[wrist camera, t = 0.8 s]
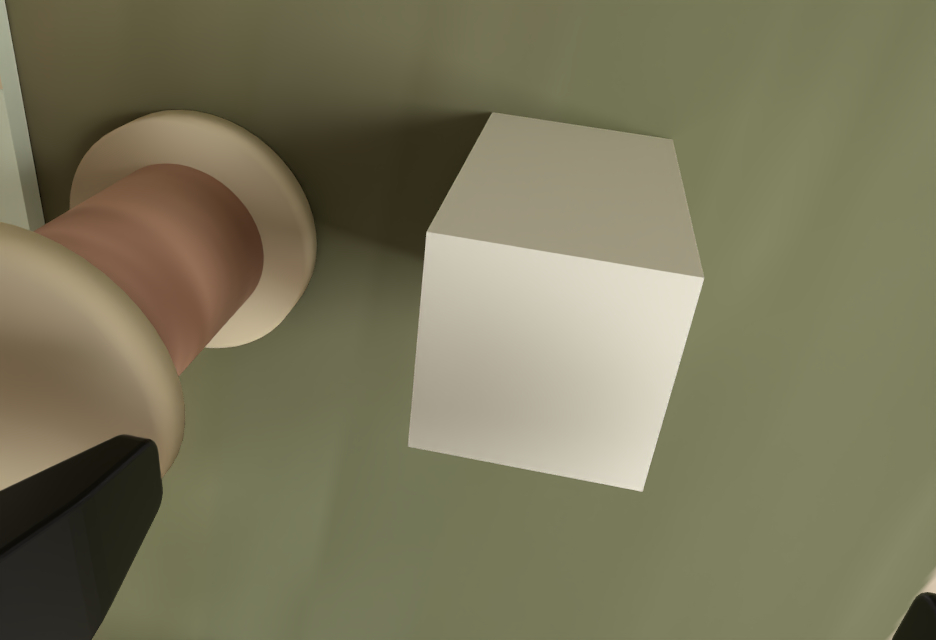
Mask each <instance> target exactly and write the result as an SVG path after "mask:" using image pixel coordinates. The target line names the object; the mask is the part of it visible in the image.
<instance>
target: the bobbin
mask: <svg viewBox="0 0 936 640" xmlns="http://www.w3.org/2000/svg"><path fill="white" fill-rule="evenodd" d="M316 254H317V236H316V228H315V223H314V218H313V215H312V212H311V209H310V205H309V202H308V200H307V198H306V196H305V194H304V192H303V190H302V188H301V186H300V184H299V183H298V181H297V179H296V178H295V176H294V175H293V173H292V172H291V170H290V169H289V168H288V167H287V165H286V164H285V163H284V162H283V160H282V159H281V158H280V157H279V156H278V155H277V154H276V153H275V152H274V151H273V150H272V149H271V148H270V147H269V146H268V145H266V144H265V143H264V142H263V141H261V140H260V139H259V138H258V137H256V136H255V135H253V134H252V133H250V132H249V131H247V130H246V129H244V128H243V127H241V126H239V125H237V124H235V123H233V122H231V121H229V120H226V119H223V118H221V117H218V116H215V115H212V114H208V113H204V112H199V111H192V110H181V109H180V110H164V111H160V112H155V113H151V114H148V115H145V116H143V117H140V118H138V119H135V120H133V121H131V122H129V123H127V124H125V125H123V126H121V127H119V128H117V129H115V130H113V131H112V132H110V133H108V134H106V135H105V136H103V137H102V138H101V139H100V140H98V141H97V142H96V143H95V144H94V145H93V146H92V147H91V148H90V149H89V150H88V152H87V153H86V154H85V155H84V157H83V159H82V160H81V162H80V164H79V166H78V168H77V170H76V173H75V176H74V179H73V182H72V188H71V193H70V210H69V211H67V212H65V213H63V214H62V215H60V216H58V217H57V218H55V219H53V220H52V221H50V222H48V223H47V224H45V225H43V226H42V227H40V228H38V229H36V230H35V231H33V232H32V231H30V230H27V229H24V228H21V227H18V226H16V225H12V224H7V223H3V222H0V491H1V490H3V489H5V488H7V487H9V486H11V485H13V484H15V483H18V482H20V481H22V480H24V479H26V478H28V477H30V476H32V475H34V474H37V473H39V472H41V471H43V470H45V469H47V468H49V467H51V466H54V465H56V464H58V463H60V462H62V461H64V460H66V459H68V458H70V457H73V456H75V455H77V454H79V453H81V452H83V451H85V450H87V449H89V448H92V447H94V446H96V445H98V444H100V443H102V442H104V441H106V440H109V439H111V438H113V437H115V436H118V435H121V434H128V435H133V436H138V437H143V438H148V439H151V440H153V441H154V442H155V443H156V445H157V447H158V453H159V461H160V470H161V478H163V476H164V475H165V474H166V472H167V471H168V470H169V469H170V467H171V465H172V464H173V462H174V460H175V458H176V457H177V455H178V452H179V449H180V446H181V444H182V441H183V435H184V428H185V404H184V398H183V392H182V387H181V383H180V380H179V375H180V374H181V373H182V372H183V371H184V370H185V369H186V368H187V366H188V365H189V364H190V363H191V362H192V361H193V360H194V359H195V357H196V356H197V355H198V354H199V353H200V352H201V351H202V350H203V348H204V347H205V348H226V347H235V346H239V345H243V344H247V343H249V342H252V341H254V340H257V339H259V338H261V337H263V336H264V335H266V334H267V333H269V332H271V331H272V330H273V329H274V328H275V327H276V326H278V325H279V324H280V323H281V322H282V320H283V319H284V318H285V317H286V316H287V315H288V313H289V312H290V311H291V309H292V308H293V307H294V305H295V304H296V303H297V302H298V300H299V299H300V298H301V296H302V295H303V293H304V291H305V290H306V288H307V286H308V285H309V282H310V280H311V277H312V275H313V271H314V267H315V263H316Z"/></svg>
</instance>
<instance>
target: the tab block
mask: <svg viewBox="0 0 936 640" xmlns="http://www.w3.org/2000/svg"><path fill="white" fill-rule="evenodd" d="M703 280H704V275H703V270H702V266H701V262H700V257H699V253H698V248H697V244H696V240H695V235H694V231H693V227H692V222H691V218H690V213H689V209H688V205H687V200H686V196H685V191H684V187H683V183H682V178H681V174H680V169H679V165H678V161H677V156H676V152H675V147H674V143H673V139H666V138H660V137H653V136H647V135H640V134H633V133H627V132H620V131H613V130H607V129H600V128H593V127H587V126H580V125H574V124H567V123H560V122H554V121H547V120H540V119H534V118H527V117H521V116H514V115H507V114H501V113H494V112H492V114H491V116H490V117H489V119H488V121H487V123H486V125H485V127H484V128H483V130H482V132H481V134H480V136H479V137H478V139H477V141H476V143H475V145H474V147H473V148H472V150H471V152H470V154H469V156H468V157H467V159H466V161H465V163H464V165H463V167H462V168H461V170H460V172H459V174H458V176H457V177H456V179H455V181H454V183H453V185H452V187H451V188H450V190H449V192H448V194H447V196H446V197H445V199H444V201H443V203H442V205H441V207H440V208H439V210H438V212H437V214H436V216H435V217H434V219H433V221H432V223H431V225H430V227H429V228H428V230H427V233H426V245H425V256H424V268H423V279H422V291H421V303H420V314H419V326H418V337H417V349H416V360H415V372H414V384H413V395H412V407H411V418H410V430H409V441H408V447H413V448H419V449H424V450H429V451H434V452H439V453H445V454H450V455H455V456H460V457H465V458H471V459H476V460H481V461H486V462H491V463H497V464H502V465H507V466H512V467H517V468H523V469H528V470H533V471H538V472H543V473H549V474H554V475H559V476H564V477H569V478H575V479H580V480H585V481H590V482H595V483H600V484H606V485H611V486H616V487H621V488H626V489H632V490H637V491H643V488H644V484H645V481H646V477H647V474H648V470H649V467H650V464H651V460H652V457H653V453H654V450H655V446H656V443H657V439H658V436H659V432H660V429H661V426H662V422H663V419H664V415H665V412H666V408H667V405H668V401H669V398H670V394H671V391H672V388H673V384H674V381H675V377H676V374H677V370H678V367H679V363H680V360H681V356H682V353H683V350H684V346H685V343H686V339H687V336H688V332H689V329H690V325H691V322H692V318H693V315H694V312H695V308H696V305H697V301H698V298H699V294H700V291H701V287H702V284H703Z"/></svg>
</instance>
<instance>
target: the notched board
mask: <svg viewBox="0 0 936 640" xmlns="http://www.w3.org/2000/svg"><path fill="white" fill-rule="evenodd" d="M0 222H3V223H7V224H12V225H16V226H18V227H21V228H24V229H27V230H30V231H32V232H33V231H35V230H36V229H38V228H40V227H42V226H43V225H45V222H44V217H43V211H42V205H41V200H40V194H39V189H38V183H37V178H36V172H35V166H34V161H33V155H32V150H31V144H30V139H29V133H28V128H27V122H26V116H25V111H24V105H23V100H22V94H21V89H20V83H19V77H18V72H17V66H16V61H15V55H14V50H13V44H12V39H11V33H10V27H9V22H8V16H7V11H6V5H5V0H0Z"/></svg>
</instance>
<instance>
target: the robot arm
mask: <svg viewBox="0 0 936 640" xmlns="http://www.w3.org/2000/svg"><path fill="white" fill-rule="evenodd" d="M162 494H163V487H162V478H161V470H160V461H159V453H158V447H157V445H156V443H155V442H154V441H153V440H151V439H148V438H143V437H138V436H133V435H128V434H121V435H118V436H115V437H113V438H111V439H109V440H106V441H104V442H102V443H100V444H98V445H96V446H94V447H92V448H89V449H87V450H85V451H83V452H81V453H79V454H77V455H75V456H73V457H70V458H68V459H66V460H64V461H62V462H60V463H58V464H56V465H54V466H51V467H49V468H47V469H45V470H43V471H41V472H39V473H37V474H34V475H32V476H30V477H28V478H26V479H24V480H22V481H20V482H18V483H15V484H13V485H11V486H9V487H7V488H5V489H3V490H1V491H0V640H92V638H93V636H94V635H95V633H96V631H97V630H98V628H99V626H100V625H101V623H102V621H103V620H104V618H105V616H106V614H107V612H108V610H109V608H110V606H111V605H112V603H113V601H114V599H115V597H116V595H117V593H118V591H119V589H120V587H121V585H122V583H123V581H124V579H125V577H126V574H127V572H128V570H129V568H130V566H131V564H132V562H133V560H134V558H135V556H136V554H137V552H138V550H139V548H140V546H141V544H142V542H143V540H144V538H145V536H146V534H147V532H148V530H149V528H150V526H151V524H152V522H153V520H154V518H155V516H156V514H157V512H158V510H159V507H160V504H161V501H162ZM892 640H936V594H935V593H930V592H925V593H921V594H920V595H918V596H917V597H916V598H915V600H914V601H913V603H912V604H911V606H910V608H909V610H908V612H907V613H906V615H905V617H904V619H903V620H902V622H901V624H900V626H899V627H898V629H897V631H896V633H895V634H894V636H893V638H892Z"/></svg>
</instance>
